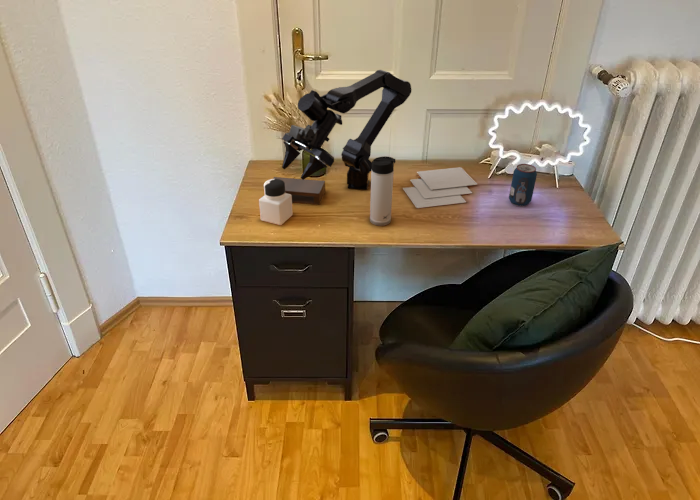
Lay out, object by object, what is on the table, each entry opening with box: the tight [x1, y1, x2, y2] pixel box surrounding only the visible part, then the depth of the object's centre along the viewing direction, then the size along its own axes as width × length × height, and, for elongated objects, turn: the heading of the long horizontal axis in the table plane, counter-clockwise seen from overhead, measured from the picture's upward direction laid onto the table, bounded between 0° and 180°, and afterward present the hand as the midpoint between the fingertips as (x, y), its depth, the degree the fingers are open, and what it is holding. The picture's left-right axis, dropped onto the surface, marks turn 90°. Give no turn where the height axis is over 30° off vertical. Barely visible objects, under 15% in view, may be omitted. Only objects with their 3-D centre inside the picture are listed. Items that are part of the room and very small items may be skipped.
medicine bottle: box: [258, 178, 294, 226], centre depth 159 cm, size 7×7×12 cm
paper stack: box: [402, 166, 479, 209], centre depth 179 cm, size 23×25×1 cm
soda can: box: [508, 163, 538, 208], centre depth 168 cm, size 7×7×12 cm
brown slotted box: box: [272, 176, 326, 206], centre depth 173 cm, size 17×9×4 cm, turn 81°
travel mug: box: [369, 155, 396, 227], centre depth 156 cm, size 6×7×20 cm
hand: (292, 173), depth 159 cm, fingers open, 9 cm apart
